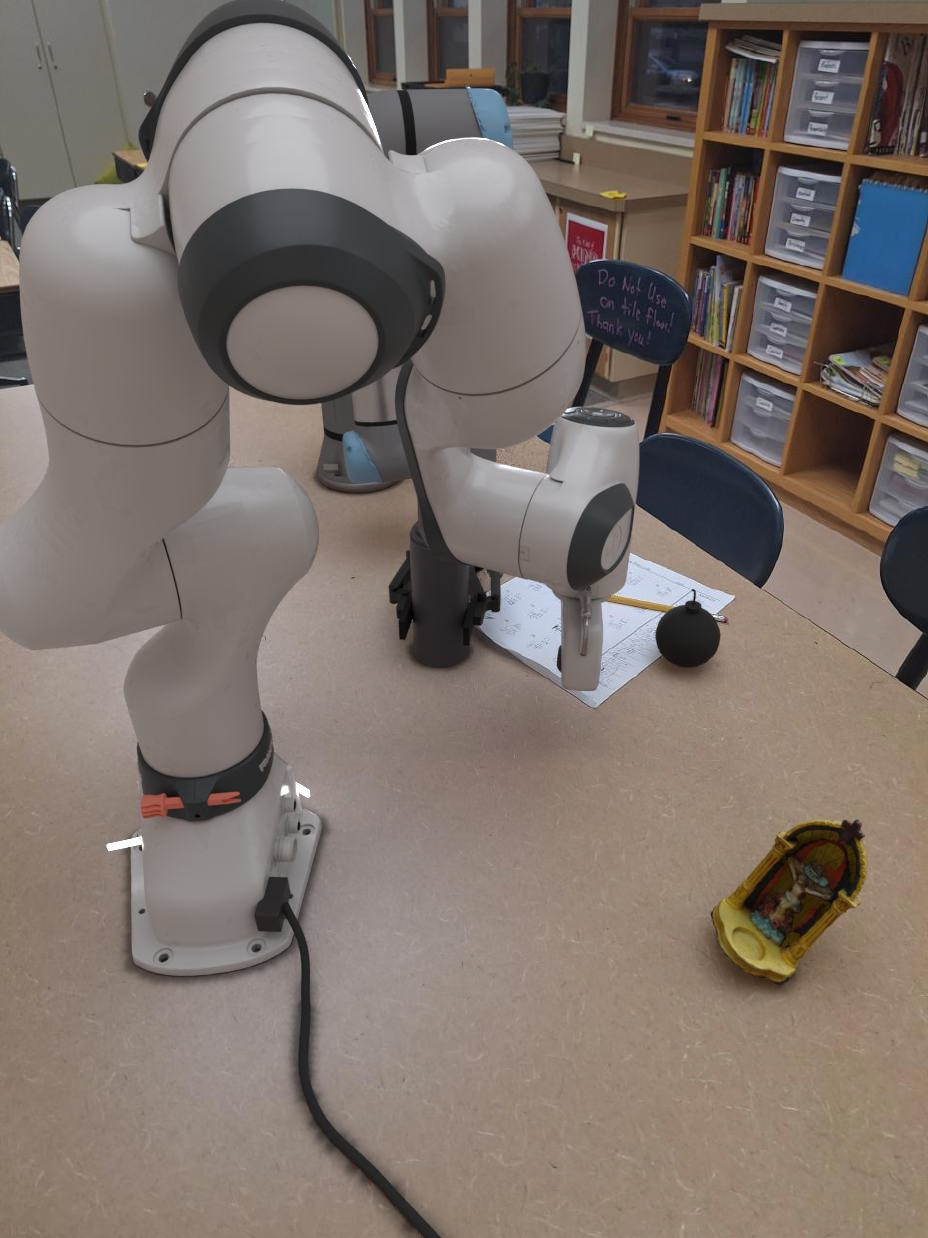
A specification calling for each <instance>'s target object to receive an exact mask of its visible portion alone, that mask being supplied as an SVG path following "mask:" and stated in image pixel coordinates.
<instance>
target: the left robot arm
mask: <svg viewBox="0 0 928 1238" xmlns="http://www.w3.org/2000/svg"><path fill="white" fill-rule="evenodd" d="M367 96H368V93H367V90H366V88H365V85H364V82H363V79H362V77H361V75H360V73H359V72H358V69H357V68H356V66H355V64H354V62H353V60H352V58H351V56H349V54H348V52H347V51H346V50H345V49H344V47H343V45H342V44H341V43H340V41H339V40H338V39H337V37H336V36H335V35H334V34H333V33H332V32H331V31H330V30H329V29H328V28H327V27H326V26H325V25H324V24H323V23H322V22H321V21H320V20H318V19H317V18H316V17H314V16H313V15H312V14H310V13H309V12H307V11H305V10H304V9H302V8H301V7H299V6H297V5H296V4H295V5H294V4H293V3H290V2H288V1H285V0H231V1H228V2H225V3H224V4H222V5H220V6H218V7H216V8H214V10H212V11H210V12H209V13H207V15H206V16H205V17H204V18H202V20H201V21H200V22H199V23H197V25H196V26H195V27H194V28H193V30H191V32H190V34H189V35H188V37H187V38H186V40H185V42H184V43H183V45H182V46H181V48H180V50H179V51H178V53H177V55H176V57H175V60H174V62H173V64H172V65H171V67H170V69H169V73H168V74H167V76H166V79H165V81H164V83H163V85H162V88H161V90H160V91H159V94H157V96H156V98H155V100H154V102H153V103H152V105H151V107H150V109H149V110H148V112H147V114H146V116H145V118H144V119H143V121H142V123H141V124H140V126H139V129H138V134H137V136H138V137H137V138H138V142H139V145H140V149H141V151H142V154H143V156H144V158H145V160H146V162H147V164H146V166H145V168H144V170H143V171H142V173H141V174H140V175H139V176H138V177H137V178H135V179H134V180H131V181H129V182H126V183H120V184H117V183H116V184H115V183H114V184H113V183H97V184H88V185H82V186H77V187H74V188H70V189H67V190H65V191H63V192H60V193H58V194H57V195H55V196H53V197H51V198H50V199H49V200H47V201H46V202H44V203H43V204H42V205H41V206H40V207H39V208H38V209H37V210H36V211H35V213H33V215H32V216H31V218H30V220H29V221H28V223H27V224H26V226H25V229H24V232H23V234H22V236H21V241H20V248H19V259H18V260H19V265H18V268H19V269H18V270H19V272H18V273H19V274H18V275H19V276H18V281H19V282H18V283H19V284H18V285H19V299H20V300H19V303H20V315H21V316H20V318H21V325H22V334H23V341H24V347H25V353H26V357H27V362H28V366H29V370H30V375H31V378H32V383H33V388H34V390H35V391H34V392H35V395H36V398H37V402H38V406H39V410H40V413H41V418H42V422H43V426H44V430H45V431H44V432H45V436H46V443H47V451H48V458H49V459H48V466H47V468H46V472H45V473H44V476H43V478H42V480H41V481H40V482H39V485H38V486H37V488H36V489H35V490H34V492H33V493H32V495H31V496H30V497H29V498H28V499H27V500H26V502H24V504H22V505H21V507H20V508H18V510H16V511H15V512H13V513H12V514H11V515H10V516H9V517H7V518H6V519H5V520H3V521H2V522H0V632H1V633H2V635H4V636H5V637H6V638H7V639H9V640H10V641H12V642H13V643H16V644H17V645H19V646H20V647H23V648H25V649H27V650H29V651H41V650H43V651H44V650H54V649H65V648H67V649H68V648H73V647H84V646H90V645H99V644H102V643H105V642H109V641H112V640H116V639H119V638H122V637H126V636H130V635H133V634H138V633H141V632H144V631H147V630H151V629H154V628H158V627H161V626H162V627H161V628H160V629H159V630H158V631H157V632H156V633H154V635H152V636H151V637H150V638H148V640H146V642H144V644H142V645H141V647H140V648H139V649H138V650H137V651H136V653H135V654H134V656H133V657H132V659H131V662H130V664H129V665H128V668H127V671H126V674H125V677H124V682H123V697H124V701H125V703H126V707H127V711H128V714H129V717H130V721H131V724H132V727H133V730H134V733H135V737H136V741H137V743H136V744H137V745H136V756H137V758H136V759H137V762H136V763H137V772H138V778H137V780H136V782H135V783H136V785H137V788H138V791H139V807H140V810H139V811H140V828H139V829H137V830H136V831H135V832H134V833H133V834H132V836H131V838H130V839H126V840H121V841H116V842H112V843H106V848H107V850H108V852H110V851H111V852H112V851H114V850H120V849H125V848H129V847H130V916H131V917H130V924H131V925H130V926H131V927H130V928H131V931H130V933H131V934H130V935H131V955H132V960H133V963H134V965H136V966H137V967H139V968H140V969H143V970H146V971H148V972H150V973H153V974H160V975H164V976H174V977H175V976H176V977H194V976H206V975H216V974H222V973H223V974H224V973H228V972H234V971H238V970H243V969H246V968H250V967H253V966H256V965H258V964H261V963H264V962H266V961H268V960H271V959H272V958H274V957H276V956H278V955H280V954H281V953H282V952H284V951H285V950H287V949H288V948H289V947H290V945H291V944H292V942H293V941H292V940H293V937H295V940H296V943H297V947H298V950H299V957H300V1005H301V1006H300V1028H299V1029H300V1030H299V1039H298V1040H299V1042H298V1073H299V1074H298V1075H299V1081H300V1085H301V1089H302V1090H301V1091H302V1094H303V1097H304V1100H305V1103H306V1106H307V1107H308V1110H309V1112H310V1114H311V1116H312V1118H313V1120H314V1121H315V1123H316V1124H317V1126H318V1128H319V1129H320V1130H321V1132H322V1133H323V1134H324V1136H325V1137H326V1138H327V1139H328V1140H329V1141H330V1142H331V1143H332V1145H334V1146H335V1147H336V1149H338V1150H339V1151H340V1152H341V1153H342V1154H343V1155H344V1156H345V1157H346V1158H347V1159H348V1160H350V1162H352V1163H353V1164H354V1165H355V1166H356V1167H357V1168H358V1169H359V1170H360V1171H361V1172H363V1173H364V1174H365V1176H366V1177H368V1178H369V1180H370V1181H371V1182H372V1183H373V1184H374V1185H375V1187H377V1188H378V1190H380V1192H381V1193H382V1194H383V1195H384V1196H385V1197H386V1198H387V1199H388V1200H389V1202H390V1203H391V1204H392V1205H393V1206H394V1207H395V1208H396V1209H397V1210H398V1212H399V1213H400V1214H401V1215H402V1216H403V1217H404V1218H405V1219H406V1221H408V1222H409V1223H410V1225H411V1226H412V1227H413V1228H415V1230H416V1231H417V1232H418V1233H419V1234H420V1235H421V1236H422V1237H423V1238H442V1237H441V1235H440V1234H439V1233H438V1232H437V1231H436V1230H435V1229H434V1228H433V1227H432V1226H431V1225H430V1223H428V1222H427V1221H426V1219H424V1217H423V1216H421V1214H419V1212H418V1211H417V1210H416V1209H415V1208H414V1207H413V1206H412V1205H411V1203H409V1202H408V1201H407V1200H406V1198H405V1197H404V1196H403V1195H402V1194H401V1193H400V1192H399V1191H398V1190H397V1188H396V1187H395V1186H394V1185H392V1183H391V1182H390V1181H389V1180H388V1179H387V1178H386V1176H384V1174H383V1173H382V1172H381V1171H380V1170H379V1169H378V1168H377V1167H376V1166H375V1165H374V1164H373V1163H372V1162H371V1161H370V1160H369V1159H367V1158H366V1157H365V1155H363V1153H361V1152H360V1151H359V1150H358V1149H357V1148H356V1147H354V1146H353V1144H351V1143H350V1142H349V1141H348V1140H347V1139H346V1138H345V1137H344V1136H342V1135H341V1133H340V1132H339V1131H338V1130H337V1129H336V1128H335V1127H334V1126H333V1124H332V1123H331V1122H330V1120H329V1119H328V1117H327V1116H326V1115H325V1114H324V1111H323V1110H322V1108H321V1106H320V1104H319V1102H318V1099H317V1098H316V1094H315V1092H314V1088H313V1085H312V1082H311V1077H310V1071H309V1070H310V1067H309V1046H310V1043H309V1042H310V1031H311V960H310V951H309V947H308V943H307V939H306V937H305V933H304V931H303V929H302V926H301V924H300V922H299V921H298V920H299V916H300V912H301V908H302V905H303V902H304V897H305V893H306V889H307V886H308V882H309V878H310V874H311V871H312V867H313V864H314V860H315V857H316V853H317V850H318V846H319V841H320V838H321V834H322V828H323V825H322V822H321V818H320V817H319V816H318V815H317V814H316V813H315V812H312V811H310V810H309V809H306V808H303V805H302V802H301V796H300V794H301V795H302V796H305V798H310V797H311V793H310V789H308V788H306V787H305V786H304V785H302V784H300V783H298V782H297V779H296V776H295V772H294V771H295V770H294V768H293V766H291V765H290V764H289V763H288V762H287V761H286V760H284V759H283V758H281V757H280V756H279V755H278V753H276V752H275V749H274V739H273V738H274V737H273V732H272V728H271V726H270V723H269V720H268V718H267V715H266V714H265V712H264V710H263V709H262V705H261V698H260V690H259V680H258V665H257V663H258V656H259V655H258V654H259V650H260V646H261V643H262V639H263V636H264V635H265V634H264V633H265V631H266V629H267V627H268V625H269V623H270V620H271V618H272V616H273V615H274V613H275V611H276V610H277V609H278V607H279V605H280V604H281V602H282V601H283V600H284V598H286V596H287V595H288V593H289V592H290V591H291V590H292V589H293V588H294V586H296V584H298V583H299V582H300V581H301V580H302V579H303V578H304V577H305V576H306V575H307V574H308V573H309V571H310V570H311V568H312V566H313V564H314V562H315V559H316V556H317V553H318V549H319V544H320V525H319V520H318V514H317V512H316V509H315V505H314V503H313V501H312V499H311V497H310V496H309V494H308V493H307V491H306V490H305V489H304V487H303V486H302V485H301V483H299V482H298V481H297V480H296V479H295V477H293V476H292V475H291V474H289V473H288V472H287V471H285V470H284V469H282V468H280V467H278V466H229V464H230V459H231V458H230V457H231V414H230V413H231V412H230V411H231V410H230V407H231V406H230V387H231V388H232V389H234V390H236V391H237V392H239V393H242V394H244V395H246V396H249V397H251V398H254V399H258V400H261V401H267V402H272V403H277V404H281V405H290V406H309V405H310V406H311V405H318V404H321V403H325V402H329V401H332V400H335V399H338V398H341V397H343V396H346V395H348V394H350V393H353V392H355V391H357V390H359V389H361V388H364V387H366V386H368V385H370V384H372V383H374V382H375V381H377V380H379V379H380V378H382V377H383V376H384V375H386V374H387V373H388V372H389V371H391V370H392V369H394V368H397V367H399V366H401V365H402V364H403V366H402V368H401V371H400V373H399V376H398V380H397V384H396V390H395V411H396V419H397V424H398V429H399V433H400V437H401V441H402V445H403V449H404V452H405V456H406V459H407V463H408V466H409V470H410V473H411V477H412V479H411V480H412V484H413V488H414V490H415V494H416V498H417V521H418V524H419V529H420V532H421V535H422V537H423V539H424V541H425V543H426V545H427V547H428V548H429V549H430V551H431V552H432V554H433V555H434V556H435V557H436V558H437V559H439V560H441V561H446V562H451V563H457V564H463V565H468V566H477V567H481V568H485V569H484V570H486V569H488V570H492V571H496V572H500V573H503V575H507V576H511V577H515V578H520V579H522V580H528V581H532V582H536V583H540V584H543V585H544V586H546V587H547V588H548V589H550V590H551V591H552V594H553V595H554V596H555V598H557V599H558V600H560V637H561V638H560V640H561V641H560V645H561V672H560V674H561V676H560V677H561V686H562V688H563V689H565V690H567V691H576V692H578V691H579V692H593V691H596V690H597V689H598V687H599V684H600V679H601V668H602V659H603V658H602V655H603V644H604V619H603V605H602V604H603V603H605V602H607V601H608V600H609V599H610V598H611V597H612V595H615V594H617V593H618V592H620V591H621V590H622V589H623V588H624V586H625V585H626V582H627V579H628V570H629V563H630V557H631V556H630V555H631V547H632V538H633V537H632V533H633V526H634V519H635V510H636V503H637V499H638V491H639V480H640V479H639V477H640V434H639V428H638V424H637V421H635V419H633V418H631V417H630V416H629V415H627V414H624V413H623V412H620V411H616V410H613V409H607V408H602V407H593V406H585V407H584V406H574V407H570V405H571V404H572V402H573V401H574V400H575V398H576V396H577V394H578V392H579V390H580V387H581V385H582V382H583V379H584V375H585V369H586V361H587V335H586V327H585V326H586V325H585V320H584V314H583V310H582V309H583V308H582V304H581V297H580V293H579V288H578V284H577V283H578V282H577V279H576V275H575V271H574V267H573V264H572V260H571V257H570V252H569V249H568V247H567V244H566V241H565V237H564V234H563V231H562V228H561V226H560V224H559V221H558V217H557V216H556V214H555V211H554V209H553V205H552V204H551V201H550V199H549V197H548V194H547V193H546V190H545V188H544V187H543V184H542V181H541V180H540V178H539V176H538V175H537V172H536V171H535V170H534V167H532V165H530V163H529V162H528V161H527V160H526V159H525V158H524V157H523V156H522V155H521V154H519V153H518V152H517V151H515V150H514V149H513V150H512V149H511V148H509V147H507V146H505V145H503V144H500V143H497V142H494V141H491V140H487V139H482V138H461V139H454V140H450V141H446V142H442V143H439V144H437V145H434V146H432V147H430V148H428V149H426V150H424V151H422V152H421V153H419V154H418V155H403V154H400V153H397V152H395V151H392V150H390V151H389V152H388V156H389V160H388V159H387V158H386V157H385V156H384V152H383V149H382V145H381V142H380V139H379V136H378V133H377V130H376V127H375V124H374V122H373V119H372V117H371V115H370V110H369V103H368V97H367ZM569 407H570V408H569ZM552 425H553V428H552V432H551V437H550V443H549V449H548V455H547V462H546V470H545V472H543V471H537V470H534V469H528V468H524V467H519V466H514V465H509V464H504V463H499V462H497V461H496V462H493V461H489V460H486V459H483V458H481V457H478V456H476V455H474V454H472V453H471V452H470V448H478V449H497V450H502V449H507V448H512V447H515V446H518V445H521V444H524V443H525V442H528V441H530V440H532V439H533V438H535V437H537V436H539V435H540V434H542V433H543V432H545V431H547V430H548V429H549V428H550V427H551V426H552ZM257 949H258V951H256V952H255V950H257ZM259 949H260V950H259ZM165 959H167V960H165ZM163 960H165V961H163ZM162 961H163V962H162Z"/></svg>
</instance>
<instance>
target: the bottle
mask: <svg viewBox="0 0 928 1238" xmlns="http://www.w3.org/2000/svg"><path fill="white" fill-rule="evenodd" d="M408 539H409V540H408V541H409V550H410V566H411V593H412V639H413V640H412V641H413V645H412V646H413V655H414V657H415V658H416V660H417V661H419V662H420V663H422V664H423V665H425V666H429V667H431V668H438V669H439V668H450V667H454V666H457V665H458V664H460V663H462V662H464V660H465V659H466V658H467V657H468V655H469V649H470V645H469V646H466V645H463V626H464V622H465V618H466V614H467V610H468V606H469V602H470V595H469V566H468V565H463V564H457V563H451V562H446V561H441V560H439V559H437V558H436V557H435V556H434V555H433V554H432V552H431V551H430V549H429V548H428V547H427V545H426V543H425V541H424V539H423V537H422V535H421V532H420V529H419V524H418V520H417V521H416V522H414V524H413V525H412V527H411V529H410V531H409V535H408Z"/></svg>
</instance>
